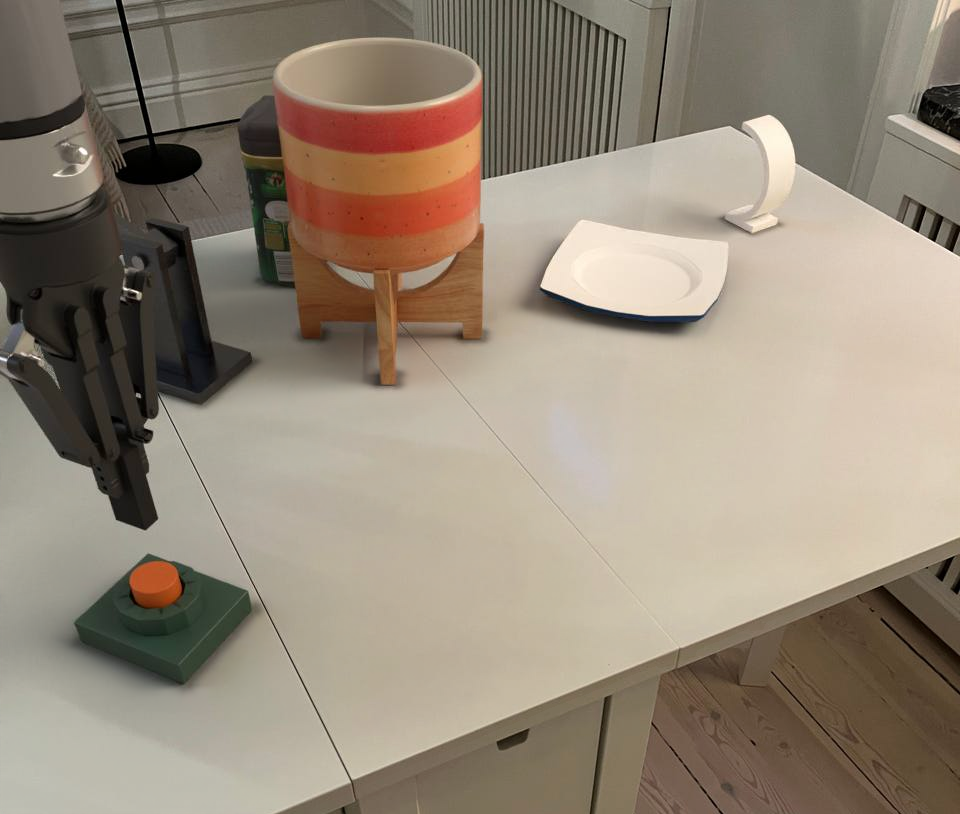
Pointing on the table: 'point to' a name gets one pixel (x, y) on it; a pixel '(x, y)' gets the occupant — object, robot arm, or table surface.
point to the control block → (166, 622)
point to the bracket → (182, 319)
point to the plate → (636, 273)
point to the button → (155, 584)
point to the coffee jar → (267, 189)
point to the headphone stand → (768, 174)
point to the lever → (149, 238)
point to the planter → (383, 183)
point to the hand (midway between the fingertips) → (137, 519)
